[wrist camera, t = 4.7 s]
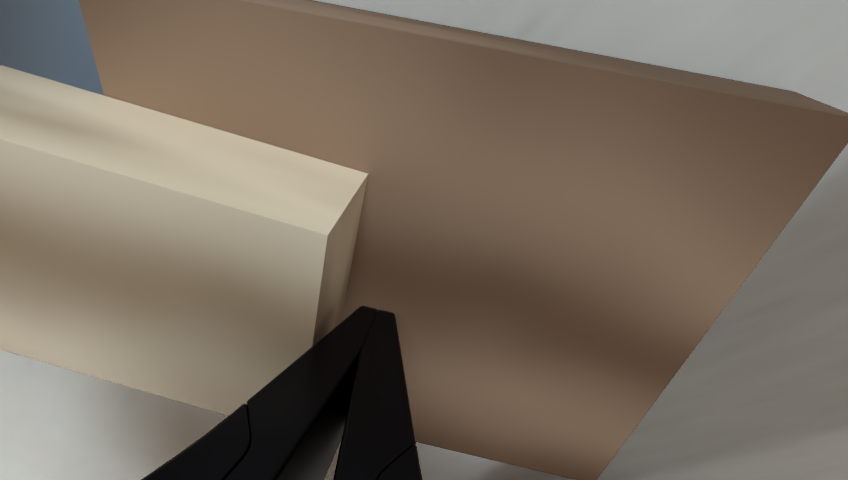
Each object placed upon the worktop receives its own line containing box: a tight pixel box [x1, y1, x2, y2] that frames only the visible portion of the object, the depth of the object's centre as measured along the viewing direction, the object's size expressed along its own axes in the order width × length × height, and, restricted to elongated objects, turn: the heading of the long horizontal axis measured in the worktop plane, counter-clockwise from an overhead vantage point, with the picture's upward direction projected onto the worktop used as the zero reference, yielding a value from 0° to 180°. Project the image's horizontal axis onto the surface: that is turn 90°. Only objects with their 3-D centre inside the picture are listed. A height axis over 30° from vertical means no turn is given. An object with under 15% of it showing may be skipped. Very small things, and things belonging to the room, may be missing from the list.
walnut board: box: [79, 0, 848, 480], centre depth 11 cm, size 12×14×2 cm
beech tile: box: [0, 65, 368, 416], centre depth 9 cm, size 6×8×2 cm
